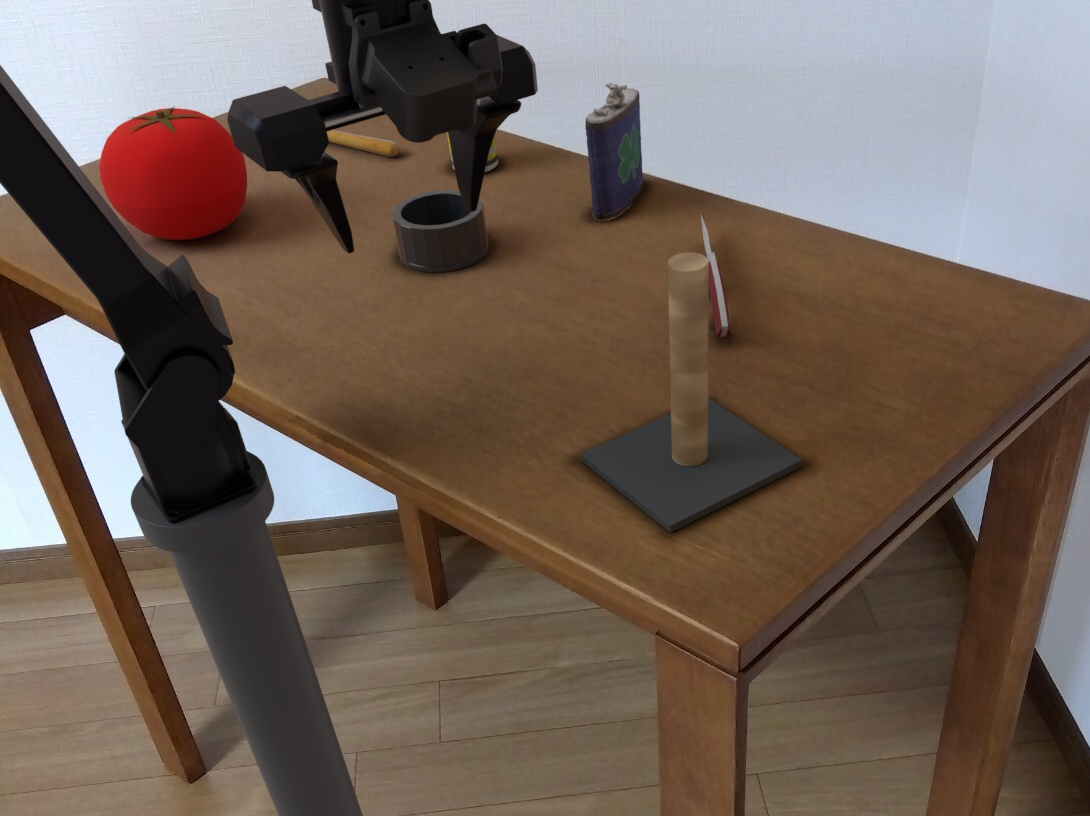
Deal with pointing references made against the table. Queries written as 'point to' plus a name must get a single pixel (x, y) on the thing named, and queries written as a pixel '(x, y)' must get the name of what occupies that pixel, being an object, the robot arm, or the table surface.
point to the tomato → (174, 174)
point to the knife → (717, 291)
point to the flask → (615, 152)
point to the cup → (439, 232)
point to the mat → (690, 467)
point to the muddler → (689, 356)
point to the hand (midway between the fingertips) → (411, 230)
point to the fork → (363, 143)
